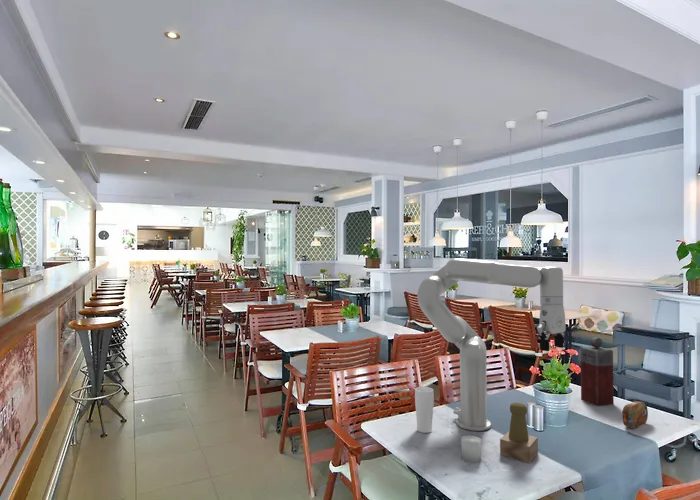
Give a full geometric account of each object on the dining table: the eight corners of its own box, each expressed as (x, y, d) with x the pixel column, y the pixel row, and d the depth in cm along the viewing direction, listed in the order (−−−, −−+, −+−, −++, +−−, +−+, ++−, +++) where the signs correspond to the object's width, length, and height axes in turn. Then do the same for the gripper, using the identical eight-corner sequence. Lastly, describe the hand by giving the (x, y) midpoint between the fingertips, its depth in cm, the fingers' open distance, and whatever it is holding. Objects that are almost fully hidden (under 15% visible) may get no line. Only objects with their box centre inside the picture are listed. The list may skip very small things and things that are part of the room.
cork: (530, 443, 134) (529, 407, 135) (509, 441, 136) (509, 406, 136) (527, 435, 140) (527, 401, 141) (507, 433, 142) (507, 399, 142)
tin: (629, 431, 157) (629, 407, 157) (620, 428, 159) (620, 405, 159) (648, 422, 165) (648, 400, 165) (639, 420, 167) (639, 398, 168)
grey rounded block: (457, 457, 135) (457, 438, 136) (469, 452, 139) (469, 433, 139) (473, 465, 131) (473, 445, 131) (485, 459, 134) (485, 440, 134)
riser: (500, 454, 137) (500, 439, 137) (509, 445, 144) (509, 430, 144) (529, 463, 132) (529, 446, 132) (537, 453, 139) (537, 437, 139)
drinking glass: (425, 436, 152) (425, 393, 152) (411, 430, 157) (411, 388, 157) (437, 431, 156) (437, 389, 156) (423, 425, 161) (423, 385, 162)
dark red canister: (592, 396, 196) (592, 334, 197) (613, 404, 186) (613, 339, 186) (576, 397, 194) (576, 335, 194) (597, 406, 183) (596, 340, 184)
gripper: (548, 303, 147) (549, 353, 146) (574, 300, 157) (574, 347, 156) (528, 301, 153) (528, 350, 152) (554, 299, 163) (554, 344, 163)
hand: (551, 348), depth 154 cm, fingers open, 9 cm apart
